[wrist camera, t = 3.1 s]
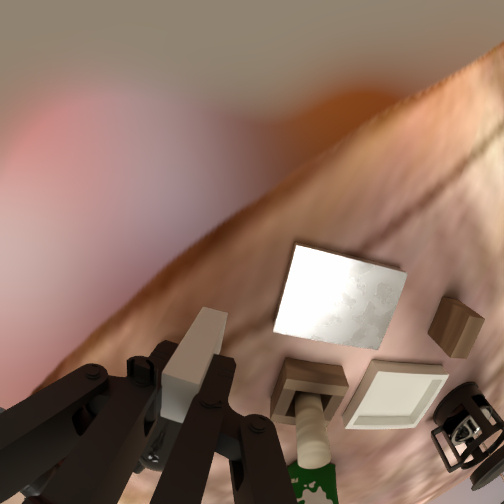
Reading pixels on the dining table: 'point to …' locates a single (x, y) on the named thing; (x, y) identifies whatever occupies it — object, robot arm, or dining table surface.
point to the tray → (394, 395)
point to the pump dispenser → (158, 445)
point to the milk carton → (314, 484)
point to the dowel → (311, 431)
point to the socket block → (307, 388)
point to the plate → (337, 297)
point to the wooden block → (455, 327)
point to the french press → (470, 433)
